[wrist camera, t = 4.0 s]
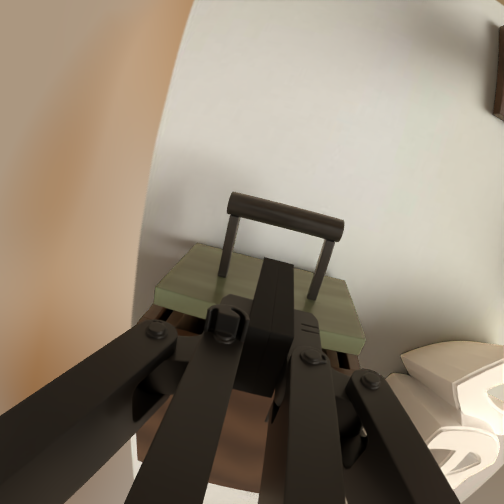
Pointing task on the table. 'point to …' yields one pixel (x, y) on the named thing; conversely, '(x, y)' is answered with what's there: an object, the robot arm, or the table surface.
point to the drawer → (248, 270)
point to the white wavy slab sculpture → (454, 403)
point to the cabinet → (232, 426)
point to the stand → (500, 79)
